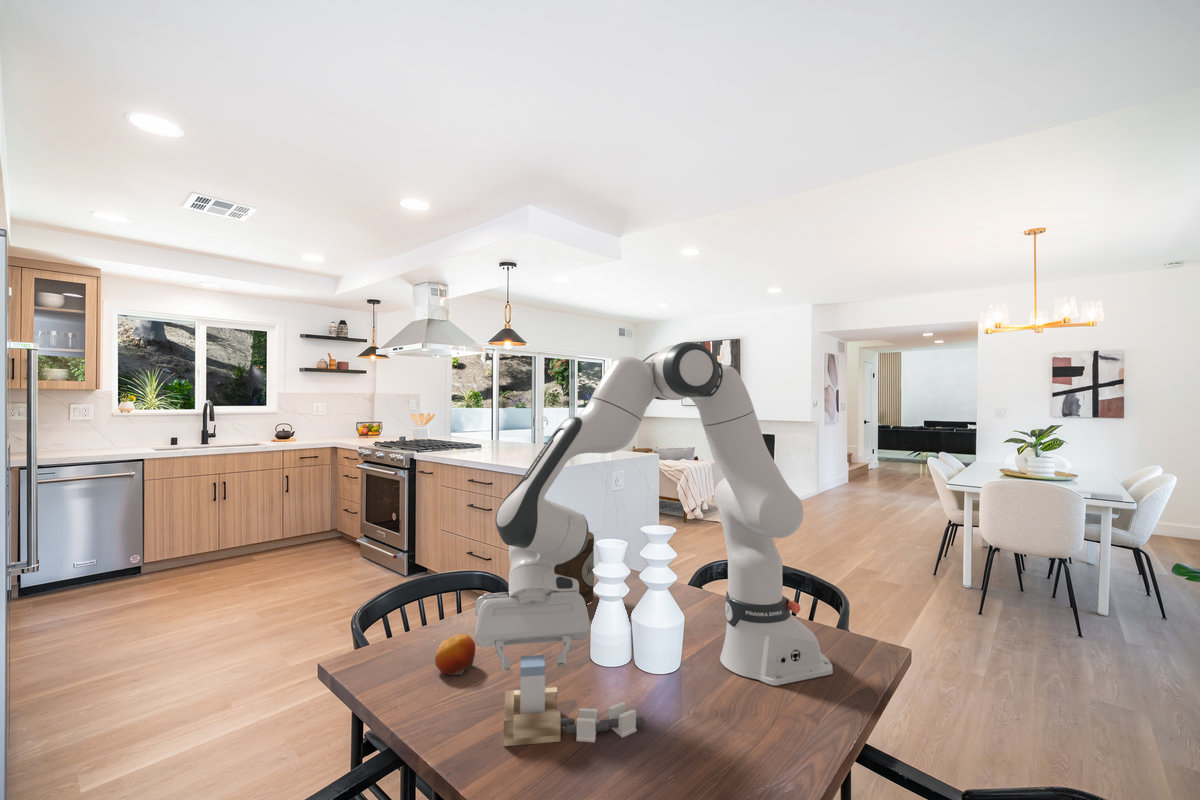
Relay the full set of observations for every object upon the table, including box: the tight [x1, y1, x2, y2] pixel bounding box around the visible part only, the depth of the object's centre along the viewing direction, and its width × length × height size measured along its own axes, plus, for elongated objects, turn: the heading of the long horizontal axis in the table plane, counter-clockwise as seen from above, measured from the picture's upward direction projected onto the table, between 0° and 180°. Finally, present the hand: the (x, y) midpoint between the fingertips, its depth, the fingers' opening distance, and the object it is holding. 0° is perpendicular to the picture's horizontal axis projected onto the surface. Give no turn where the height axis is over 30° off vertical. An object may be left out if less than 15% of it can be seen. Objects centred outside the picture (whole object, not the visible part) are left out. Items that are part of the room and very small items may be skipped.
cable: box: [560, 716, 646, 735], centre depth 89 cm, size 16×3×1 cm, turn 98°
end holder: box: [503, 686, 562, 747], centre depth 90 cm, size 9×9×4 cm
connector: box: [519, 654, 546, 714], centre depth 90 cm, size 4×4×10 cm
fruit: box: [434, 633, 476, 676], centre depth 109 cm, size 8×8×8 cm
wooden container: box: [554, 531, 595, 605], centre depth 149 cm, size 15×15×22 cm
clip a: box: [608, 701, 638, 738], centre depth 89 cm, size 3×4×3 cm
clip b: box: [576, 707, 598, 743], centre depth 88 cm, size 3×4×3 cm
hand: (534, 667), depth 91 cm, fingers open, 8 cm apart
